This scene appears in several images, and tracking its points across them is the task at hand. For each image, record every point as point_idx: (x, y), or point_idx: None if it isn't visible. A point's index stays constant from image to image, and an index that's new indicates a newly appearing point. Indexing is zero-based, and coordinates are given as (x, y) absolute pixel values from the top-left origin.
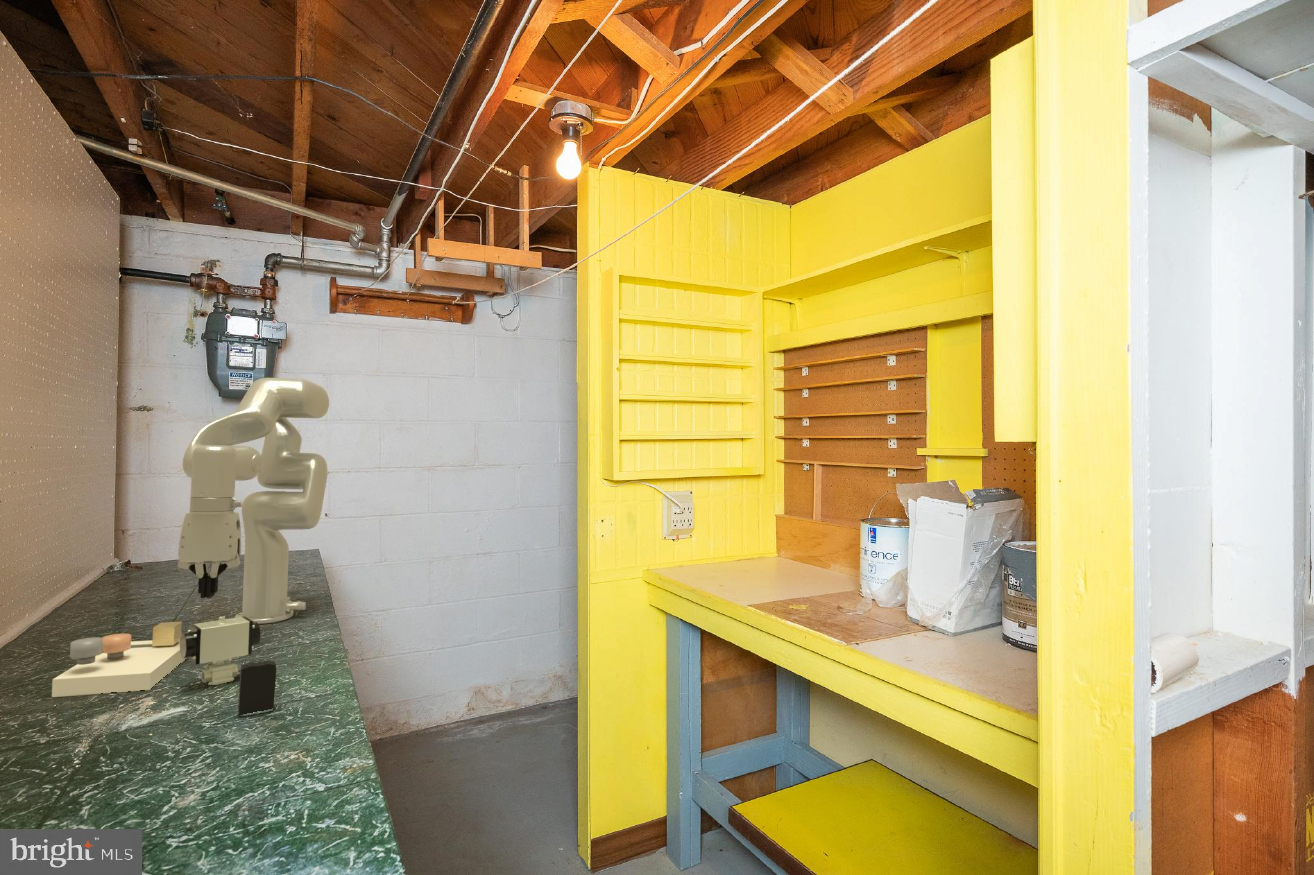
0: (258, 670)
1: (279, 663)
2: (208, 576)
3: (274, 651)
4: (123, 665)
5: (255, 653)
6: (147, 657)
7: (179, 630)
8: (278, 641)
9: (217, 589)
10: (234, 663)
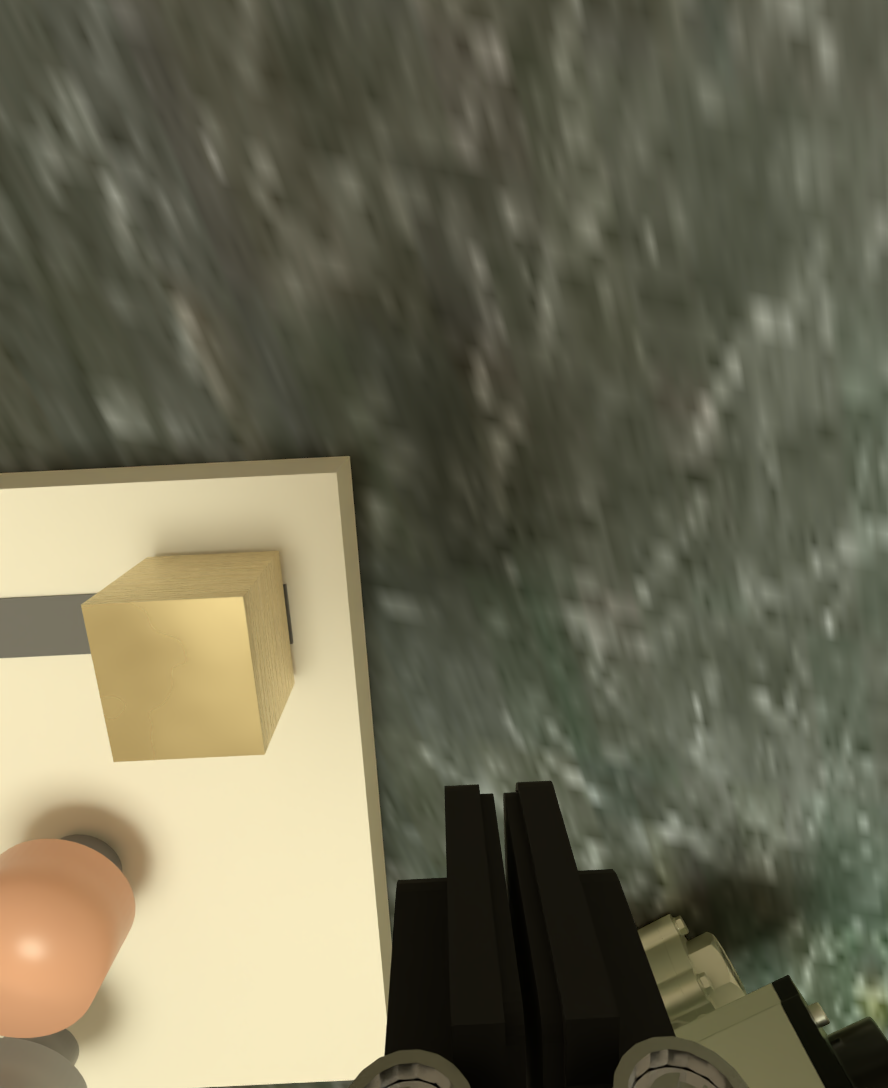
0: None
1: (880, 739)
2: (507, 1082)
3: (831, 507)
4: (201, 964)
5: (725, 531)
6: (249, 856)
7: (265, 621)
8: (832, 255)
9: (616, 880)
10: (732, 986)
